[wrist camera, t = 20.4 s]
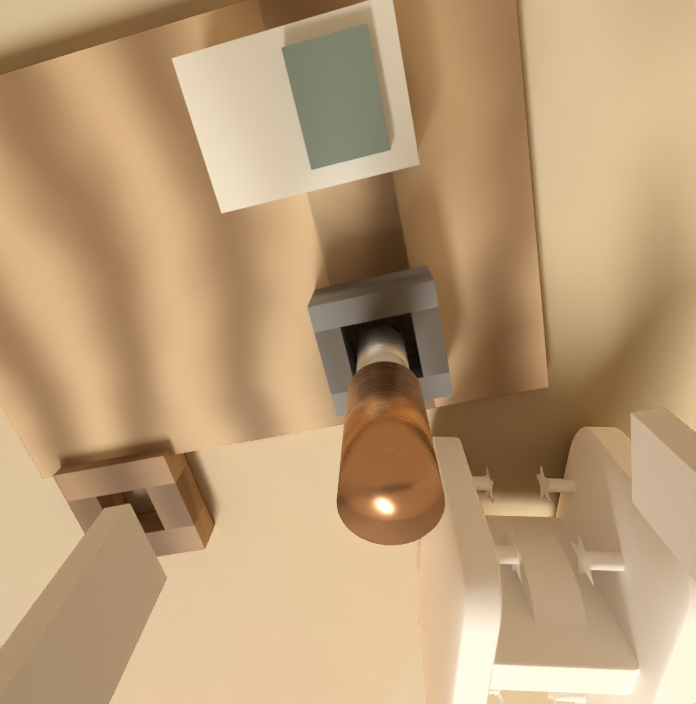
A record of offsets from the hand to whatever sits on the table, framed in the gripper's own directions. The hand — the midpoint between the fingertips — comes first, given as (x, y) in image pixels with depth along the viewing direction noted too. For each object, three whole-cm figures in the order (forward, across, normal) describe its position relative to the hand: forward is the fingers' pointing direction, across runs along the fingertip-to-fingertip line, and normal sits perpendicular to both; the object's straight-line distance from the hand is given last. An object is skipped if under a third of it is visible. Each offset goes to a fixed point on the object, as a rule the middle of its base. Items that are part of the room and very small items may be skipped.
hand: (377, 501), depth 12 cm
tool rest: (+14, -16, -8) cm, 23 cm away
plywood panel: (+14, -6, +5) cm, 16 cm away
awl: (+13, +1, 0) cm, 13 cm away
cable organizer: (+14, +6, -14) cm, 21 cm away
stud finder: (+13, 0, +10) cm, 16 cm away
